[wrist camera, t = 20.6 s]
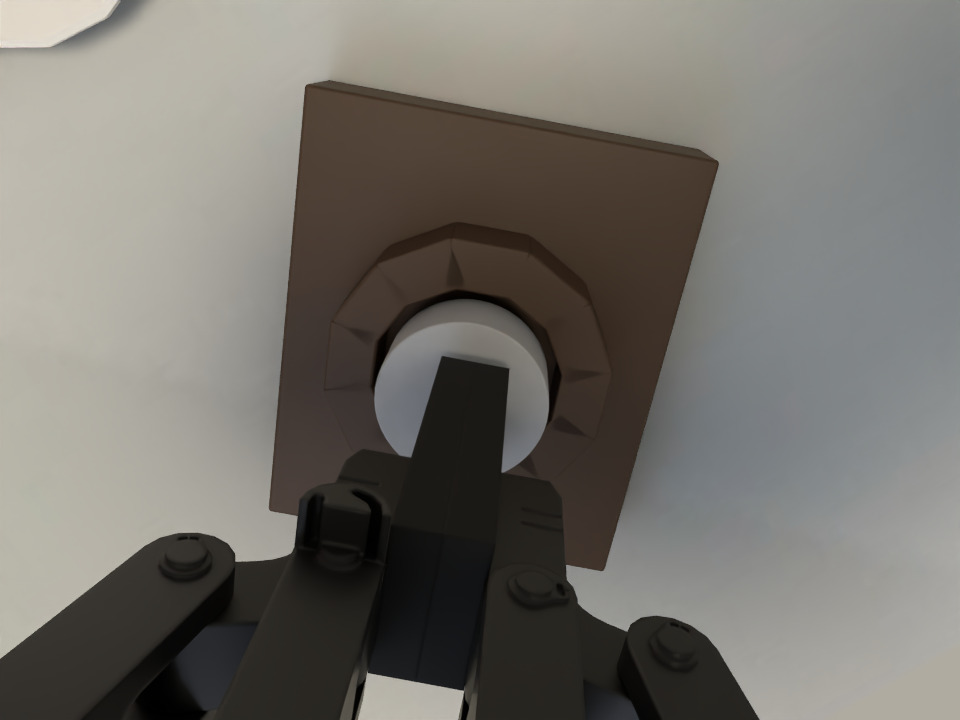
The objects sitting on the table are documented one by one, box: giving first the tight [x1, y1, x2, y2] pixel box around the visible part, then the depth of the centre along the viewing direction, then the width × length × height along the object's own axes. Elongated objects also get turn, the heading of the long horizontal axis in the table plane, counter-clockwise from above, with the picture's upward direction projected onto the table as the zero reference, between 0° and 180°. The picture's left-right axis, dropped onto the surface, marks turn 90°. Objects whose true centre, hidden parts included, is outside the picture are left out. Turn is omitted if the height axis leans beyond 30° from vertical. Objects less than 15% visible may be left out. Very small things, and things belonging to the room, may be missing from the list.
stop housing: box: [269, 80, 719, 571], centre depth 21 cm, size 12×10×4 cm
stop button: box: [374, 299, 549, 472], centre depth 19 cm, size 4×4×2 cm
